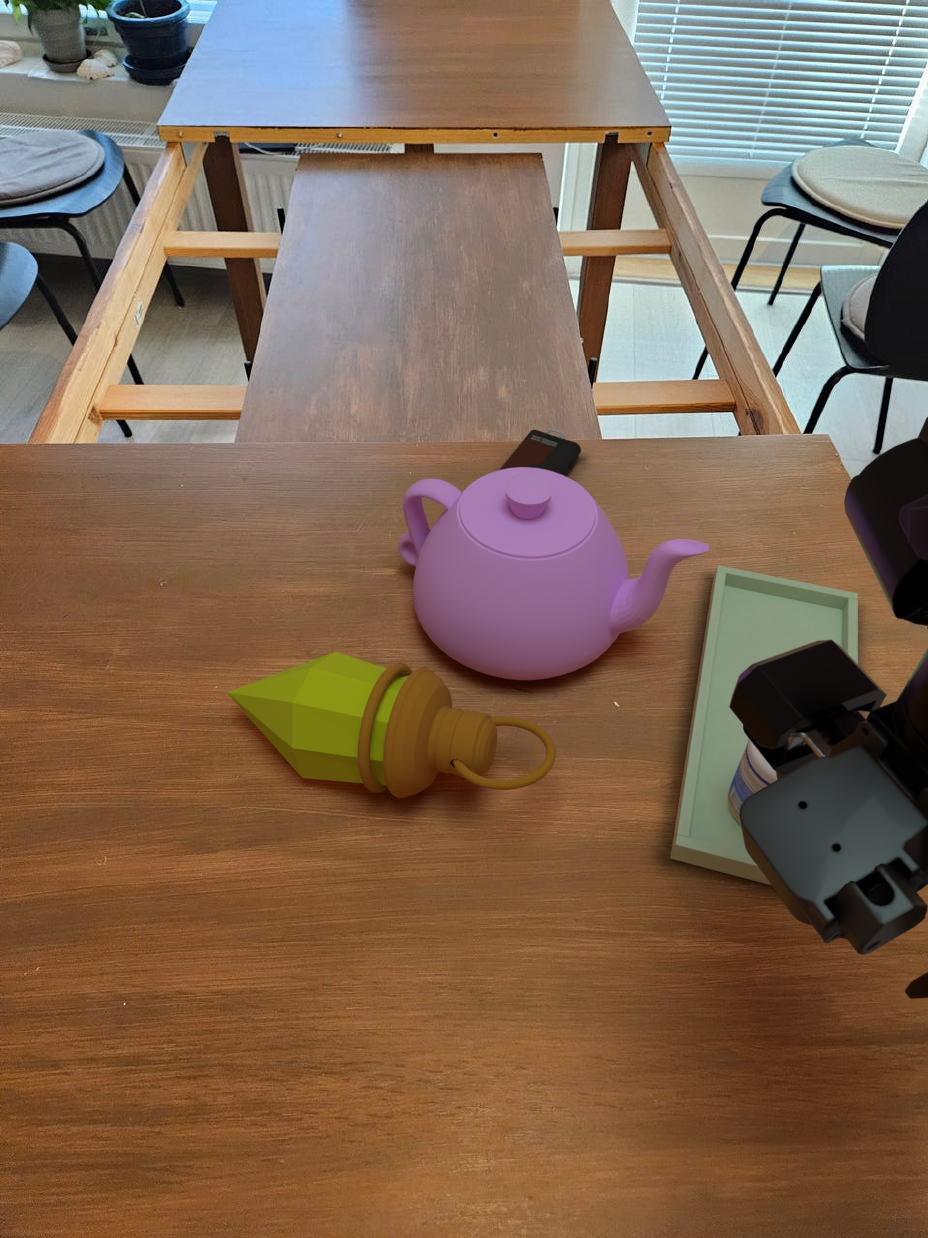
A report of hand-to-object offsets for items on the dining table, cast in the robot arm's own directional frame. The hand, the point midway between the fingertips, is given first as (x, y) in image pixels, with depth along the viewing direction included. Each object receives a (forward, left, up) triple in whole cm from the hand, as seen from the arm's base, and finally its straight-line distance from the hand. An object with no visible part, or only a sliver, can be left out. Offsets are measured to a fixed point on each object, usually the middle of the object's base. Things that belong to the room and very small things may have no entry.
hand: (849, 906), depth 45 cm
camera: (+43, +26, -13) cm, 52 cm away
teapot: (+26, +22, -13) cm, 36 cm away
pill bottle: (+13, +2, -12) cm, 18 cm away
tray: (+21, +2, -13) cm, 25 cm away
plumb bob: (+9, +29, -13) cm, 33 cm away
